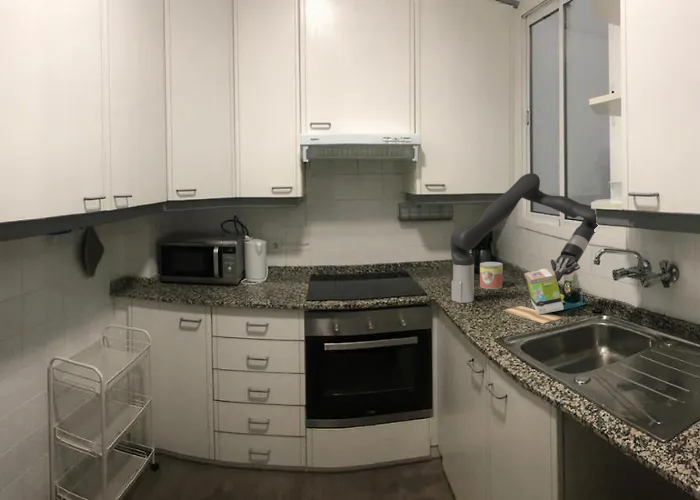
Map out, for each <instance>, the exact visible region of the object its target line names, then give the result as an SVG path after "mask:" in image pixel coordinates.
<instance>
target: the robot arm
mask: <svg viewBox="0 0 700 500" xmlns="http://www.w3.org/2000/svg"><path fill="white" fill-rule="evenodd" d="M540 183H541V180H540V177H539V175H538V174H536V173H533V172H531V173H530V172H529V173H526V174H524V175H522V176H521V177H519V179H517V180H516V182H515V183H514V184H513V185H512V186H511V187H510V188H509V189H507V191H505V192H504V193H502V195H500V197H498V198H497V199H496V200H495V201H493V202H492V203H491V204H489V206H487V207H486V208H485V210H483V213H482V215H481V217H480V219H479V221H477V223H475V224H474V225H473V226H471V227H469V228H457V229H455V230H454V231H452V234H451V235H450V252H451V254H450V255H451V259H452V265H453V267H452V280H451V301H453V302H456V303H460V304H463V303H466V304H467V303H468V304H469V303H473V302H474V301H475V258H474V256H472V255H471V253H470V251H469V250H472V249H473V248H474V249H475V247H477V246H478V244H479V243H480V242H481V241H482V240H483V239H484V238H485V237H486V236H487V235H488V234H489V233H490V232H491V231H492V230H494V229H495V228H496V227H497V226H498V225H499V224H501V223H502V222H503V221H504V220H506V219H507V218H508V217H509V216H510V215H511V213H512V212H513V211H514V209H515V208H516V207H517V206H518V203H519V202H520V201H521V199H524V200H527V201H529V202H533V203H535V204H539V205H542V206H545V207H547V208H550V209H553V210H556V211H557V212H560V213H562V214H564V215H566V216H568V217H570V218H572V219H576V218H577V217H581V218H582V220H581V221H582V222H581V223H580V225H579V226H578V227H577V228H575V230H574V232H573V233H572V235H571V236H570V238H569V239H568V240H567V242H566V243H565V245H564V247H563V248H562V250H561V252H560V255H558V257H557V259H551V260H550V263H551V264H550V265H551V269H552V271H553V273H554V274H555V275H556V279H557V283H559V282H560V281H561V280H562V278H563V276H565V275H566V276H569V275H571V274H573V273H575V272H576V271H578V270H580V269H581V265H580V264H579V263H578V262H579V261H580V259H581V257H582V256H583V255H584V253H585V251H586V249H587V247H588V245H589V243H590V242H591V240H592V238H593V236H594V235H595V234H596V232H594V229H595V228H596V227H597V226H598V225H597V224H596V214H595V210H593V209H591V206H592V205H590V204H585V203H580V202H578V201H576V200H574V199H572V198H570V197H567V196H563V195H551V194H547V193H545V192H543V191H541V189H540V187H541V186H540V185H541V184H540ZM594 233H595V234H594Z"/></svg>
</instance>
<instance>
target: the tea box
mask: <svg viewBox="0 0 700 500" xmlns="http://www.w3.org/2000/svg"><path fill="white" fill-rule="evenodd" d="M524 278H525V281H526V285H527V290H528V294H529V297H530V301H531V302H530V303H531V304H532V306H533V308H534V310H536V311H537V312H538V314H544V313H549V314H550V313H552V312H558V311H563V310H564V309H565V308H564V304H563V299H562V296H561V295H562V294H561V292H560V288H559V284H558V283H559V282H557V279H556V275H555V272H554V271H553V270H551V269H550V268H545V267H544V268H541V269H537V270H533V271H528V272H524Z"/></svg>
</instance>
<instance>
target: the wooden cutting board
mask: <svg viewBox="0 0 700 500" xmlns="http://www.w3.org/2000/svg"><path fill="white" fill-rule="evenodd" d="M502 311H503V312H504V311H505V312H504V313H507V312H508V314H512V315H514V316H516V317H521V318H523V319H528V320H531V321H535V322H538V323H541V324H548V323H550V322H556V321H558V320H562V319H564V317H563V316H559V315H556V314H551V313H550V312H549V313H544V314H538V312H537V311H536V309H535V308H534V309H533V308H530V307H525V306H523V305H519V306H515V307H512V308H507V309H503V310H502Z"/></svg>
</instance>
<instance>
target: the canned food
mask: <svg viewBox="0 0 700 500" xmlns="http://www.w3.org/2000/svg"><path fill="white" fill-rule="evenodd" d="M503 265H504V264H503V263H502V262H497V261H484V262H480V263H479V287H480V288H481V289H487V290H498V289H502V288H503V272H504V271H503V267H504V266H503Z"/></svg>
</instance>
